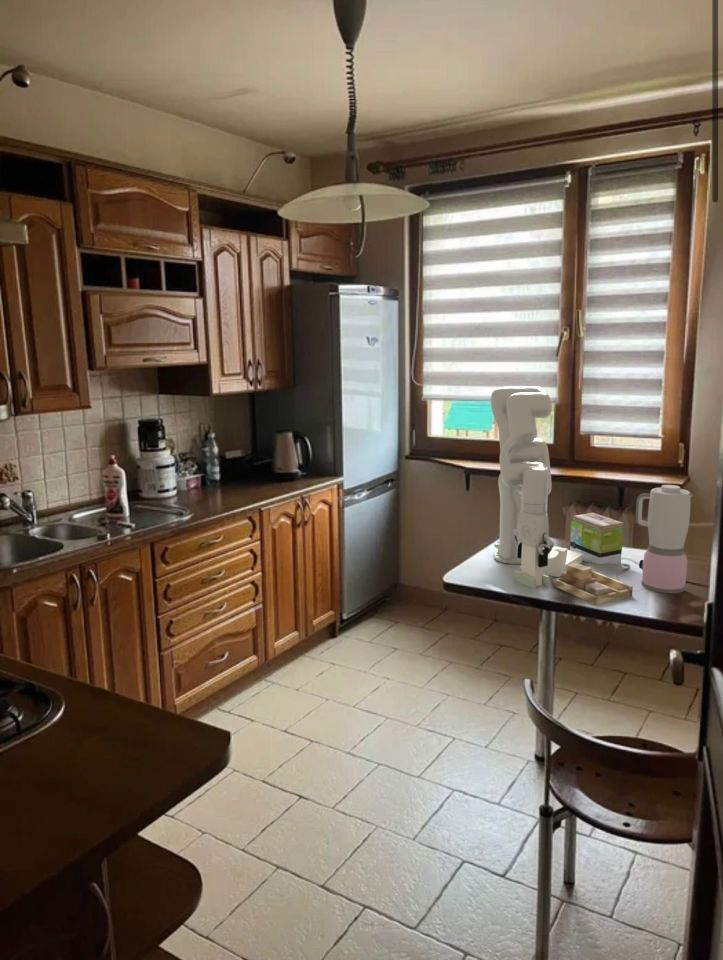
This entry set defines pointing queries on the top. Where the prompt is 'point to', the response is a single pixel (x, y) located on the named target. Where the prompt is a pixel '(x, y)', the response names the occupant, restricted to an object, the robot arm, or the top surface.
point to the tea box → (597, 538)
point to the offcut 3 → (596, 589)
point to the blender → (665, 538)
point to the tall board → (531, 563)
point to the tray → (614, 586)
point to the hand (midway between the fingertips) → (532, 561)
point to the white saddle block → (560, 561)
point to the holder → (529, 579)
